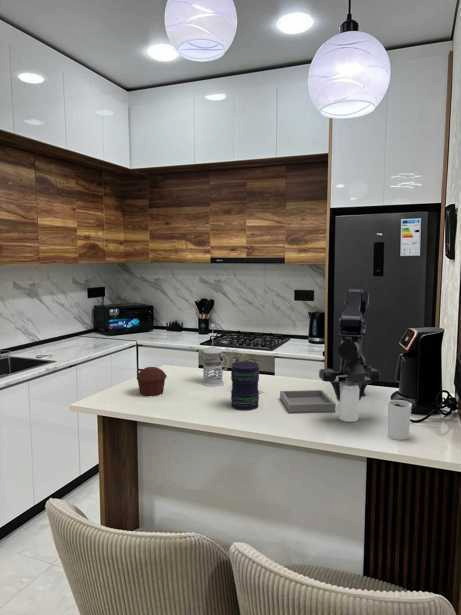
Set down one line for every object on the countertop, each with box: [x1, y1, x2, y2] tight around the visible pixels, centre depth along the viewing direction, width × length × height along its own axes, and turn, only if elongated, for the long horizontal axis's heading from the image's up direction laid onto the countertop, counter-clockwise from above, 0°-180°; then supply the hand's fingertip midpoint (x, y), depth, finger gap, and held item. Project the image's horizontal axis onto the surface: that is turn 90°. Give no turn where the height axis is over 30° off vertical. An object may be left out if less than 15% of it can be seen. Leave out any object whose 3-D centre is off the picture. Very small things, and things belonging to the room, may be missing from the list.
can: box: [337, 380, 360, 423], centre depth 151 cm, size 6×6×12 cm
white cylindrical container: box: [387, 399, 412, 441], centre depth 137 cm, size 7×7×10 cm
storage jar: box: [230, 361, 260, 411], centre depth 163 cm, size 10×10×15 cm
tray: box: [279, 389, 337, 414], centre depth 165 cm, size 16×16×3 cm
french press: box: [200, 323, 230, 388], centre depth 192 cm, size 10×12×25 cm
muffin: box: [136, 366, 167, 397], centre depth 179 cm, size 12×11×10 cm
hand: (348, 400), depth 151 cm, fingers closed on can, 6 cm apart
